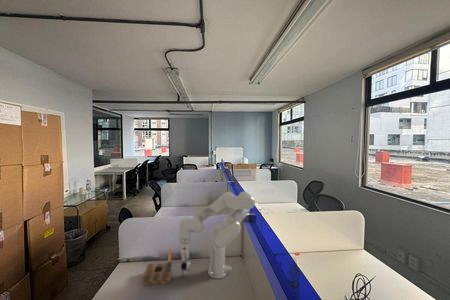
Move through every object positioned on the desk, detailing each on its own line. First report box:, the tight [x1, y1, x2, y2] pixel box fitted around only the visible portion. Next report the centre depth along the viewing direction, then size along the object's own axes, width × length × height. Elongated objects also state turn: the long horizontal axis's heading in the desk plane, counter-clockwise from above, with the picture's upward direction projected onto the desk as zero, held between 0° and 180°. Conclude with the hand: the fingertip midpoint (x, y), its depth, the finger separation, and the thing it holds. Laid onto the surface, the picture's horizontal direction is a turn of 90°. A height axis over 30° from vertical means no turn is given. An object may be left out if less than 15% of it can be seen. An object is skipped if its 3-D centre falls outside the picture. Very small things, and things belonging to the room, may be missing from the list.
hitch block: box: [142, 257, 174, 287], centre depth 135 cm, size 16×12×11 cm
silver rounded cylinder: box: [180, 259, 191, 279], centre depth 137 cm, size 6×6×9 cm
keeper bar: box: [167, 247, 172, 263], centre depth 135 cm, size 9×3×1 cm
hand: (184, 264), depth 136 cm, fingers open, 9 cm apart
